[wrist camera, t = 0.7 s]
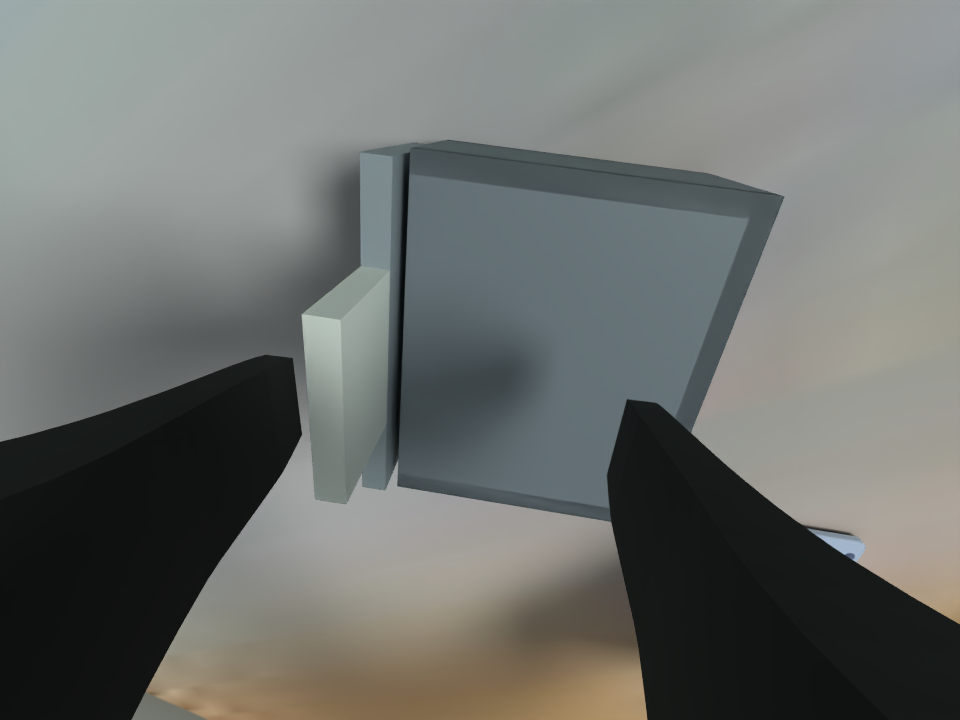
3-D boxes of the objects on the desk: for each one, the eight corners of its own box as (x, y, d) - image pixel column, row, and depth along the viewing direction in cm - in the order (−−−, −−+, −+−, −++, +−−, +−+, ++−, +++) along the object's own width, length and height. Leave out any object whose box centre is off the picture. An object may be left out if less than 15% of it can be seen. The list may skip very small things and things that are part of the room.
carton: (626, 434, 21) (652, 528, 16) (429, 403, 21) (397, 486, 17) (709, 173, 16) (784, 196, 11) (448, 139, 16) (410, 147, 11)
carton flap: (420, 404, 21) (348, 578, 13) (403, 401, 21) (320, 573, 13) (437, 145, 16) (336, 169, 8) (414, 142, 16) (290, 163, 8)
